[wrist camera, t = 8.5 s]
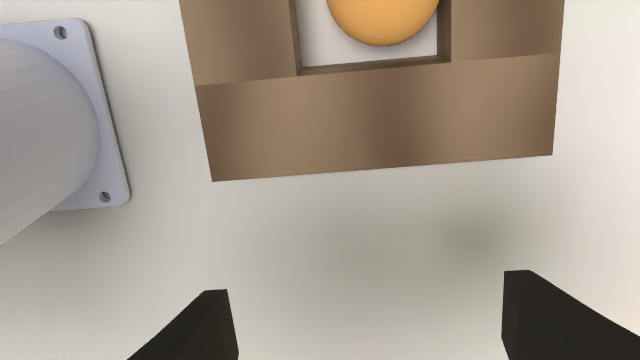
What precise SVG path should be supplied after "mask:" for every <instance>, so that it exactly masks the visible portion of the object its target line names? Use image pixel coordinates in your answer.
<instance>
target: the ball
mask: <svg viewBox="0 0 640 360" xmlns="http://www.w3.org/2000/svg"><path fill="white" fill-rule="evenodd" d="M438 2H439V0H327V4H328V8H329V10H330V12H331V15H332V16H333V18H334V20H335V21H336V23H337V24H338V26H339V27H340V28H341V29H342V30H343V31H344V32H345V33H346V34H348V35H349V36H350V37H352V38H354V39H355V40H357V41H360V42H362V43H365V44H369V45H375V46H387V45H393V44H397V43H400V42H402V41H405V40H407V39H409V38H411V37H412V36H413V35H415V34H416V33H417V32H419V31H420V30H421V29H422V28H423V27H424V26H425V25H426V24H427V22H428V21H429V20H430V18H431V17H432V15H433V13H434V12H435V10H436V7H437V5H438Z"/></svg>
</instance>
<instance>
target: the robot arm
mask: <svg viewBox="0 0 640 360" xmlns="http://www.w3.org/2000/svg"><path fill="white" fill-rule="evenodd" d="M61 26H62V27H63V28H65V30H66V32H67V37H66V38H65V39H64V38H62V37H61V36H60V34H59V29H60V27H61ZM103 192H107V193H108V194H109V195H110V197H111V199H107V198H105V197H104V195H103ZM129 198H130V191H129V187H128V183H127V179H126V175H125V171H124V167H123V163H122V159H121V155H120V151H119V147H118V143H117V139H116V135H115V131H114V127H113V123H112V119H111V115H110V111H109V107H108V103H107V99H106V95H105V91H104V87H103V83H102V79H101V75H100V72H99V68H98V64H97V60H96V56H95V52H94V48H93V44H92V40H91V36H90V32H89V29H88V26H87V25H86V23H85V22H84V21H82V20H80V19H78V18H67V19H57V20H47V21H37V22H28V23H18V24H8V25H0V246H1V245H3V244H4V243H5V242H7V241H8V240H10V239H11V238H12V237H14V236H15V235H16V234H18V233H19V232H21V231H22V230H23V229H25V228H26V227H27V226H29V225H30V224H31V223H33V222H34V221H36V220H37V219H38V218H40V217H41V216H42V215H44V214H45V213H47V212H49V211H62V210H76V209H89V208H102V207H115V206H121V205H123V204H125V203H126V202H127V201H128V200H129ZM501 338H502V341H503V344H504V347H505V350H506V352H507V355H508V358H509V360H640V336H638V335H636V334H634V333H632V332H631V331H629V330H627V329H625V328H623V327H622V326H620V325H618V324H616V323H614V322H613V321H611V320H609V319H607V318H606V317H604V316H602V315H601V314H599V313H597V312H596V311H594V310H592V309H591V308H589V307H588V306H586V305H584V304H583V303H581V302H580V301H578V300H576V299H575V298H573V297H572V296H570V295H569V294H567V293H565V292H564V291H562V290H561V289H559V288H558V287H556V286H555V285H553V284H551V283H550V282H548V281H547V280H545V279H544V278H542V277H540V276H539V275H537V274H536V273H534V272H532V271H530V270H517V271H504V290H503V312H502V333H501ZM238 354H239V350H238V345H237V340H236V334H235V329H234V324H233V318H232V313H231V308H230V303H229V297H228V292H227V289H221V290H206V291H203V292H202V293H201V294H200V295H199V296H198V297H197V298H195V299H194V300H193V301H192V302H191V303H190V304H189V305H188V306H187V307H186V308H185V309H184V310H183V311H182V312H181V313H180V314H178V315H177V316H176V317H175V318H174V319H173V320H172V321H171V322H170V323H169V324H168V325H167V326H166V327H164V328H163V329H162V330H161V331H160V332H159V333H158V334H157V335H156V336H155V337H153V338H152V339H151V340H150V341H149V342H147V343H146V344H145V345H144V346H143V347H142V348H140V349H139V350H138V351H137V352H136V353H134V354H133V355H132V356H131V357H130V358H128V359H127V360H238Z"/></svg>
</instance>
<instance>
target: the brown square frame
mask: <svg viewBox="0 0 640 360" xmlns="http://www.w3.org/2000/svg"><path fill="white" fill-rule="evenodd" d="M564 1H565V0H439V2H438V5H437V55H433V56H422V57H411V58H400V59H389V60H379V61H368V62H357V63H346V64H335V65H324V66H313V67H302V68H301V60H300V50H299V41H298V31H297V22H296V12H295V3H294V0H179V4H180V9H181V15H182V20H183V25H184V31H185V36H186V42H187V47H188V53H189V58H190V63H191V69H192V74H193V80H194V85H195V91H196V96H197V102H198V107H199V112H200V118H201V123H202V129H203V134H204V140H205V145H206V150H207V156H208V161H209V167H210V172H211V178H212V182H216V181H229V180H241V179H254V178H267V177H280V176H293V175H305V174H318V173H331V172H344V171H356V170H369V169H382V168H395V167H408V166H420V165H433V164H446V163H459V162H472V161H484V160H497V159H510V158H523V157H535V156H548V155H552V153H553V140H554V128H555V115H556V102H557V90H558V77H559V64H560V52H561V39H562V26H563V14H564Z"/></svg>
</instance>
